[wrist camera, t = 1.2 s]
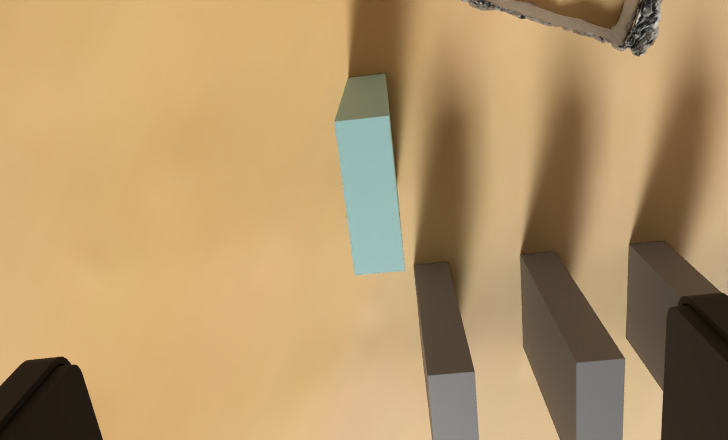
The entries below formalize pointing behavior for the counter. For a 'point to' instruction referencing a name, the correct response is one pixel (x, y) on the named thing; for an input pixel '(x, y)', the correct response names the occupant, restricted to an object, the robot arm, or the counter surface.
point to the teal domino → (369, 175)
